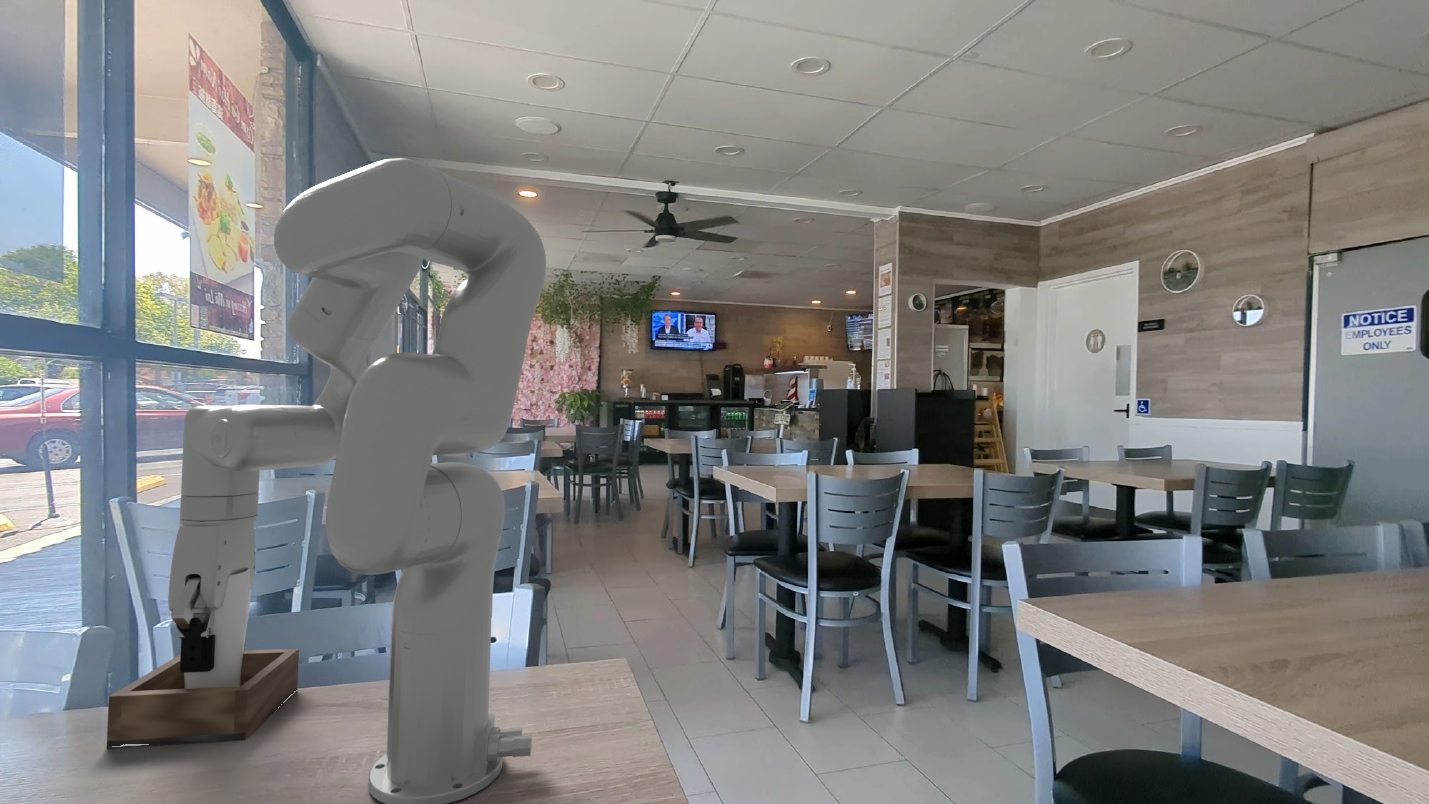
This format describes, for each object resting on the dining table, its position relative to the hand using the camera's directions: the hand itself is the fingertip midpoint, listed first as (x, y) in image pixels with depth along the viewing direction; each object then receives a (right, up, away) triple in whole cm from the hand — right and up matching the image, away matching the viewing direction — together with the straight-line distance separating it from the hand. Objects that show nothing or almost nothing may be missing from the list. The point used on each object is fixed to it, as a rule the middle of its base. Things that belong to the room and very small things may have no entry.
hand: (213, 658), depth 80 cm
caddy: (0, -7, 0) cm, 7 cm away
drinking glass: (0, -5, 0) cm, 5 cm away
